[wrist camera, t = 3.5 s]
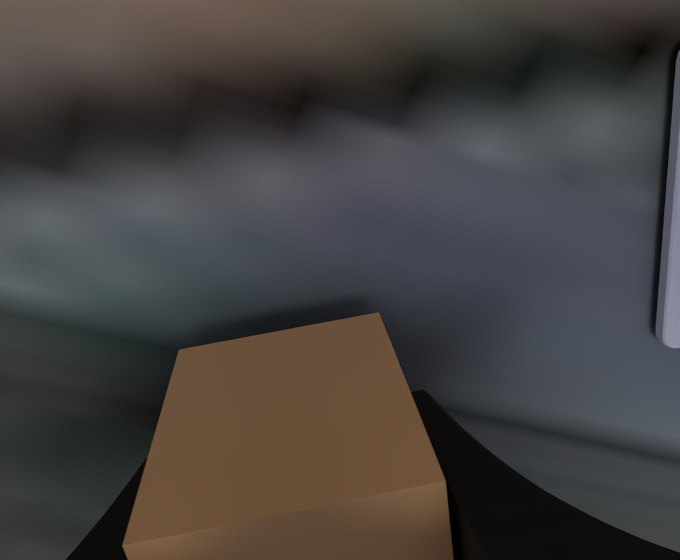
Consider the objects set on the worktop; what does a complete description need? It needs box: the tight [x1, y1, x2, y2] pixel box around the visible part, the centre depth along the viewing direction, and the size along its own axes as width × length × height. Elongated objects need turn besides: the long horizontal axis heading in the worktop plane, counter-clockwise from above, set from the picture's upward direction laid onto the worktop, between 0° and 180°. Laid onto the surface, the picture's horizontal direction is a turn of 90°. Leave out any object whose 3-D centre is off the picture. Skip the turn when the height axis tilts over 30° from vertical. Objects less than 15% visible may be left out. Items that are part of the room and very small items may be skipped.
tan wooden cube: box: [122, 312, 454, 560], centre depth 12 cm, size 5×5×6 cm
